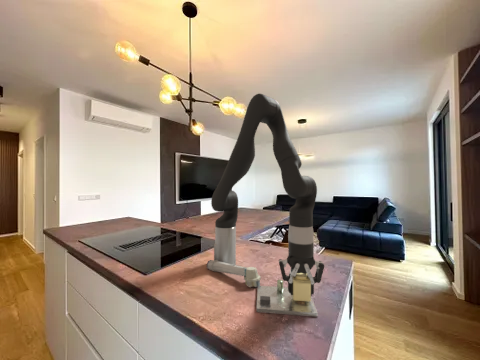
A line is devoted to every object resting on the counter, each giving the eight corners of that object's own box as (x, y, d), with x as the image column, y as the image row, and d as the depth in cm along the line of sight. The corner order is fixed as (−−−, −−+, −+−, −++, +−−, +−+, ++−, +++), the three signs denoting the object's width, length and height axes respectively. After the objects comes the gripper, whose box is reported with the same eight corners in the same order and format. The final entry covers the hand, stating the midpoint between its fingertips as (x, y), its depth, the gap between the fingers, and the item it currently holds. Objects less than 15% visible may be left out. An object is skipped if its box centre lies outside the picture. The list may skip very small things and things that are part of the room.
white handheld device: (213, 257, 91) (261, 264, 76) (215, 273, 90) (264, 283, 75) (204, 261, 86) (254, 269, 71) (206, 278, 86) (256, 289, 71)
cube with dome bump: (293, 300, 62) (293, 278, 62) (291, 291, 67) (291, 271, 67) (310, 301, 61) (310, 279, 61) (307, 292, 66) (307, 271, 66)
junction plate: (256, 312, 59) (256, 291, 59) (257, 288, 72) (257, 271, 72) (317, 316, 57) (317, 295, 57) (307, 291, 70) (307, 273, 70)
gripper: (278, 242, 61) (278, 299, 61) (328, 244, 60) (328, 303, 60) (276, 235, 69) (276, 286, 69) (321, 237, 67) (321, 289, 67)
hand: (300, 294), depth 64 cm, fingers closed on cube with dome bump, 5 cm apart
